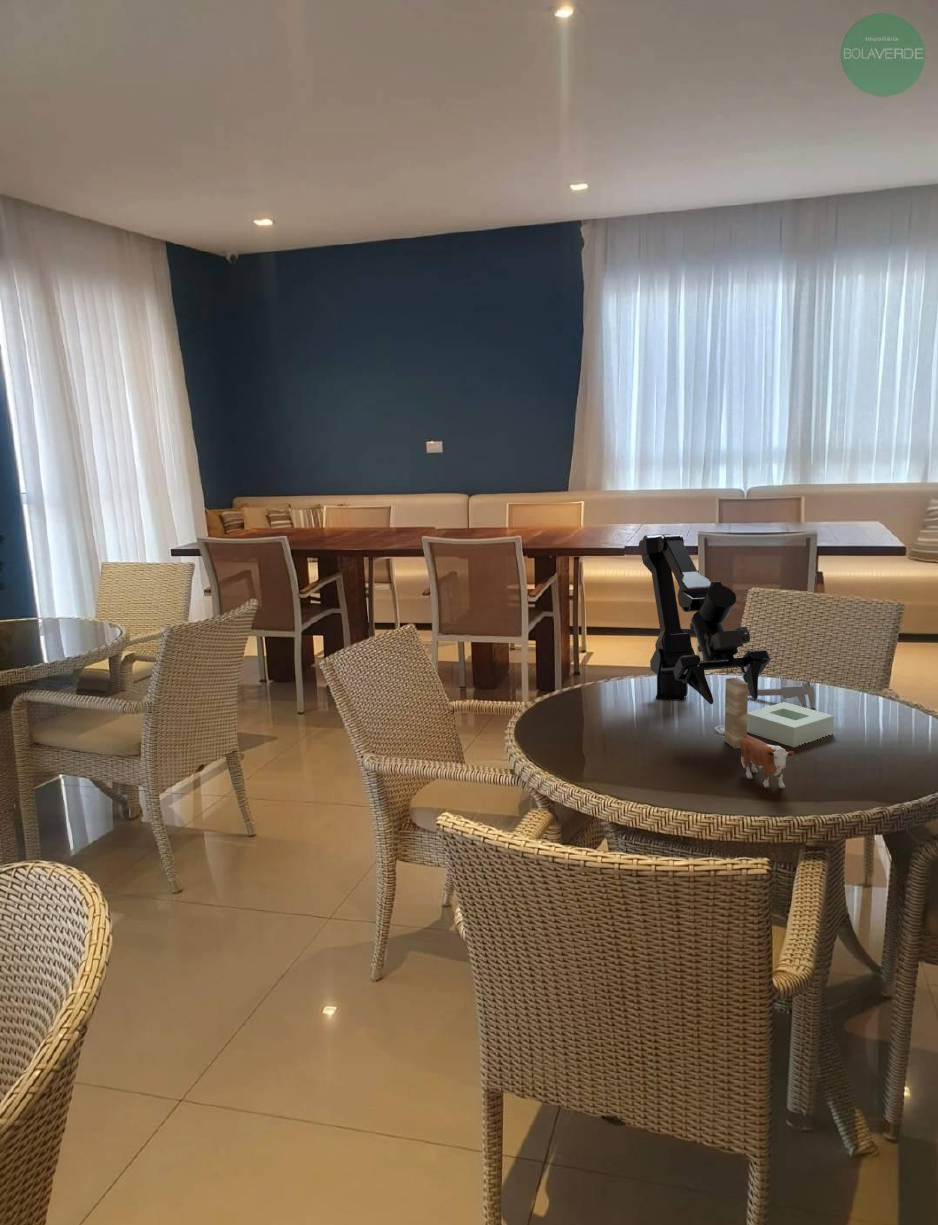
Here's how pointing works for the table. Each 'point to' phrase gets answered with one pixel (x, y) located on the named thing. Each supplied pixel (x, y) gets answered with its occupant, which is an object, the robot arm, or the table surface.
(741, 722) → the slat
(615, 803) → the table surface
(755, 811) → the table surface
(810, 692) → the caliper
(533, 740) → the table surface
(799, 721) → the end cap
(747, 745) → the bull figurine
